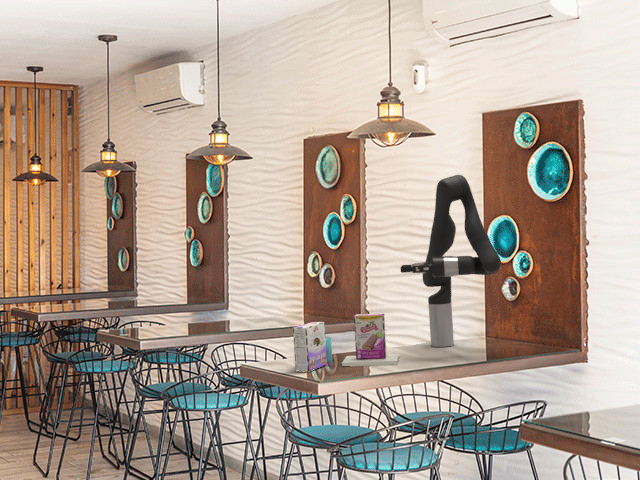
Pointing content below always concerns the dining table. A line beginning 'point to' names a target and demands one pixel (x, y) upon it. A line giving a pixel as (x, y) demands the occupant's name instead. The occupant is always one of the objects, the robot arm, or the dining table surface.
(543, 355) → the dining table surface
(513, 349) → the dining table surface
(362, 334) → the candy bar box
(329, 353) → the teal rounded cylinder
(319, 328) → the candy box
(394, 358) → the plain white board
